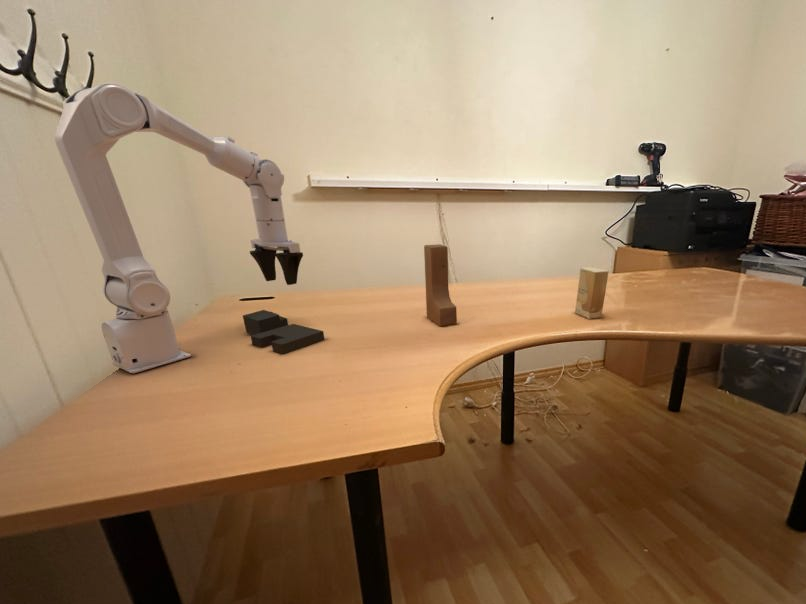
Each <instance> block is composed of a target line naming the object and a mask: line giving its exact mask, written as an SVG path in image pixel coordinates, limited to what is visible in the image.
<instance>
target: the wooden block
mask: <svg viewBox="0 0 806 604" xmlns="http://www.w3.org/2000/svg"><path fill="white" fill-rule="evenodd" d="M448 250H449V248H448V246H447V245H443V244H425V245H424V246H423V254H424V256H423V257H424V277H425V280H424V281H425V304H426V317H427V318H428V319H429V320H431V321H432V322H434V323H435V324H437V325H438V326H439V327H444V326H451V325H453V326H454V325H457V320H458V319H457V316H458V315H457V306H456V305H455V303H453V302H452V298H451V296H450V290H449V253H448V252H449V251H448Z"/></svg>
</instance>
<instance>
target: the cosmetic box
mask: <svg viewBox="0 0 806 604" xmlns="http://www.w3.org/2000/svg"><path fill="white" fill-rule="evenodd" d="M608 277H609V271H608V270H607V269H602V268H598V267H594V266H587V267H581V268H580V271H579V277H578V287H577V294H576V302H575V309H574V313H575V314H577V315H579V316H582V317H584V318H586V319H588V320H591V319H598V318H602V316H603V309H604V303H605V298H606V297H605V296H606V290H607V284H608Z"/></svg>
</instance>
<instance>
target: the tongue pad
mask: <svg viewBox="0 0 806 604" xmlns="http://www.w3.org/2000/svg"><path fill="white" fill-rule="evenodd" d="M272 312H273V311H269V310H265V309H261V310H257V311H254V312H250V313H246V314H242V318H243V323H244V328H245V333H247V334H249V335H255V334H258V333H262V332H265V331H269V330H273V329H276V328H280V327H283V326H287V325H289V321H288V318H287V317H284V316H282V315H280V314H278V313H276V312H273V313H272Z"/></svg>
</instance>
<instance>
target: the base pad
mask: <svg viewBox="0 0 806 604" xmlns="http://www.w3.org/2000/svg"><path fill="white" fill-rule="evenodd" d="M250 340H251V344H252V346H255V347H259V348H266V347H268V346H271V348H272V351H273V352H274V353H278V354H281V355H284V354H287V353H291V352H293V351H296V350H299V349H302V348H305V347H309V346H312V345H313V344H316V343H319V342H322V341H324V340H325V333H324V330H321V329H316V328H313V327H309V326H305V325H302V324H301V325H300V324H297V323H290V324H288V325H287V326H283V327H280V328H276V329H273V330H269V331H265V332H262V333H258V334H255V335H252V334H250Z"/></svg>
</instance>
